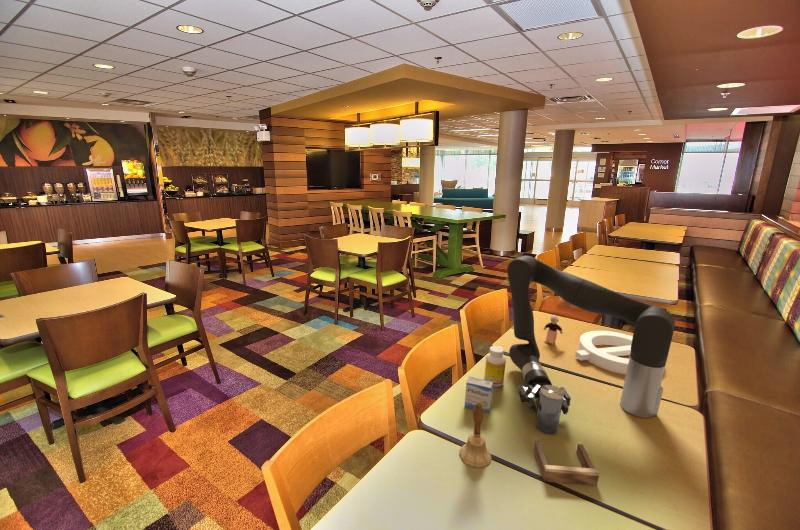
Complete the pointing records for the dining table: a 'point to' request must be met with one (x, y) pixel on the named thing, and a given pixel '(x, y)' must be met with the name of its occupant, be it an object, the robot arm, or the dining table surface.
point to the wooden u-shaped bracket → (567, 468)
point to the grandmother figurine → (552, 330)
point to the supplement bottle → (495, 366)
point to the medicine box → (479, 393)
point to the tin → (549, 409)
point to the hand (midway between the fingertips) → (550, 410)
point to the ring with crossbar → (605, 350)
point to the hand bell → (476, 443)
